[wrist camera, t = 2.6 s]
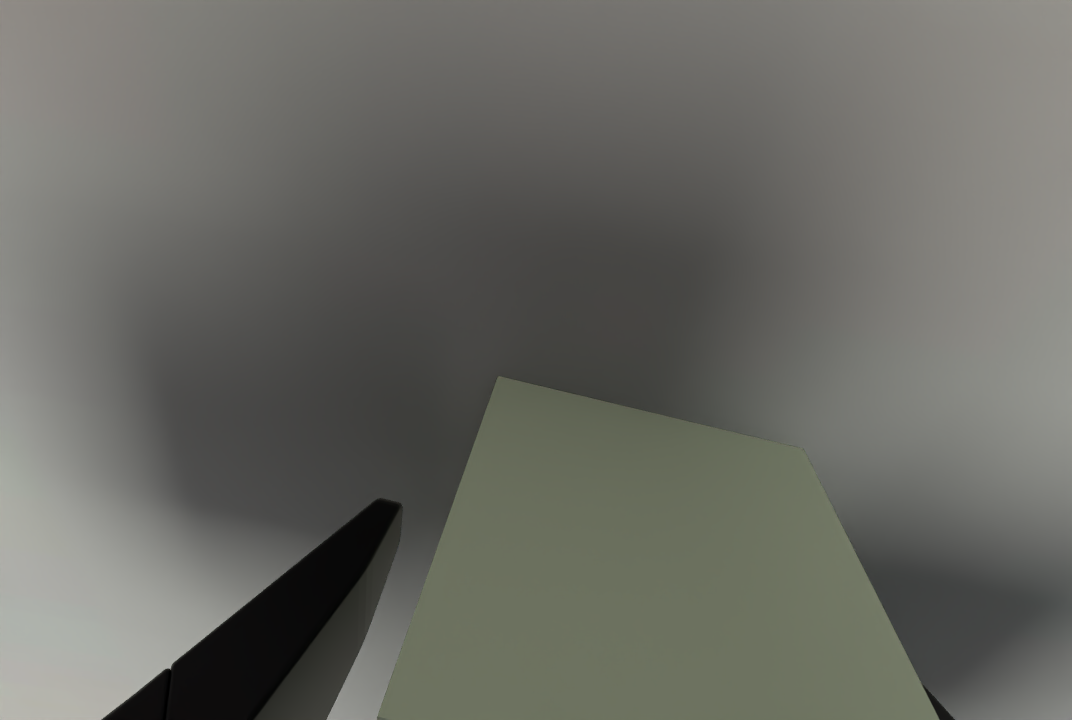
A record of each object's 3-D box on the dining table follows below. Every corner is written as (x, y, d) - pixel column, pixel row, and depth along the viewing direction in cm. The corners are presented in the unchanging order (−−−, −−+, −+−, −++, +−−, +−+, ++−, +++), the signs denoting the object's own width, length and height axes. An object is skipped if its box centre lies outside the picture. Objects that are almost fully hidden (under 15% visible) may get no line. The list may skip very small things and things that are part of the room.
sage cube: (801, 445, 8) (1015, 870, 4) (690, 621, 11) (745, 992, 6) (499, 373, 8) (376, 717, 4) (461, 566, 11) (363, 899, 6)
